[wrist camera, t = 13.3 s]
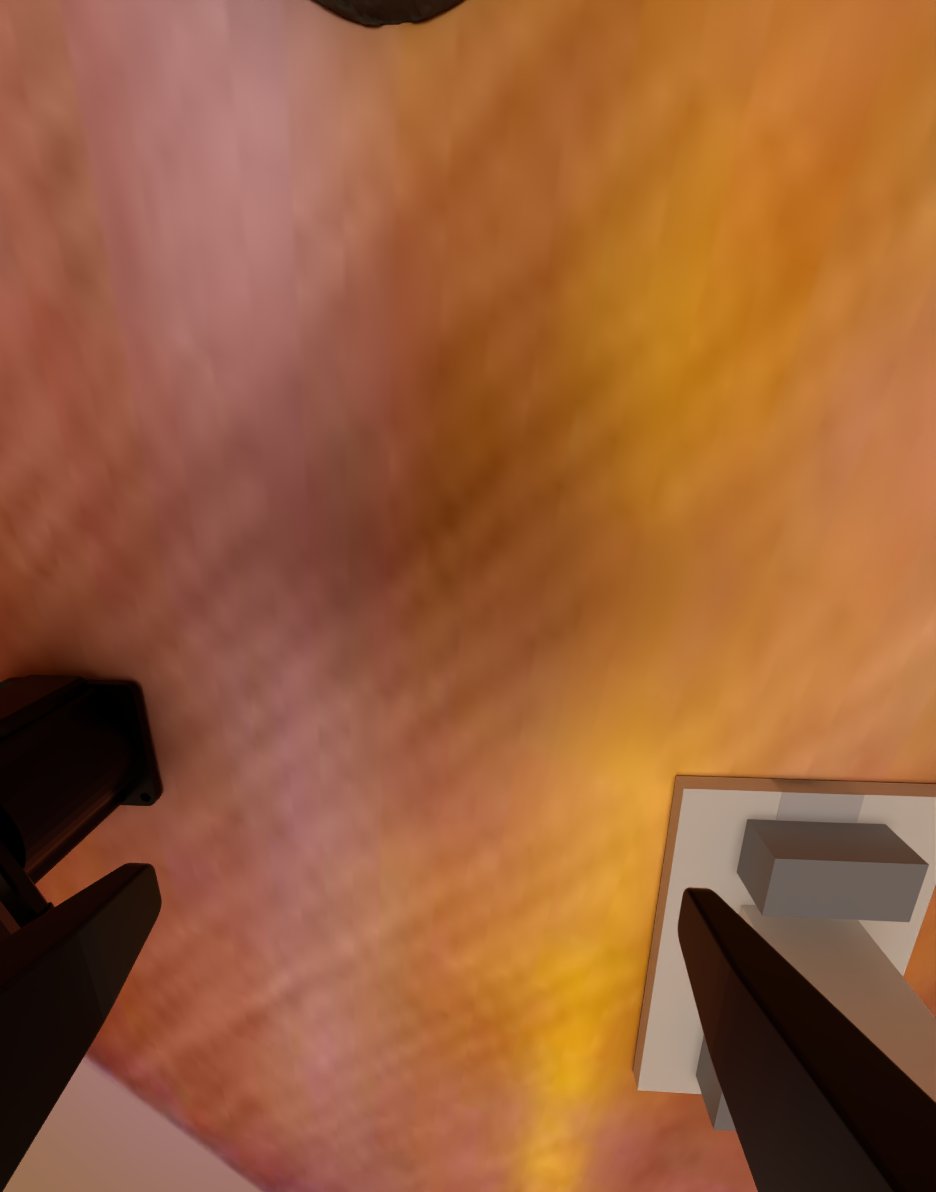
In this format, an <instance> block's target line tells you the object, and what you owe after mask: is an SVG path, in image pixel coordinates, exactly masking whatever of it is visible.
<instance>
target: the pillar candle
mask: <svg viewBox="0 0 936 1192" xmlns="http://www.w3.org/2000/svg"><path fill="white" fill-rule="evenodd" d="M317 1H318V2H320V3H321V4H322V5H323V6H327V7H329V8H330V10H331V9H332V10H333V11H334V12H336V13H338V14H340V15H341V16H343V17H346V18H348V19H352V20H354V21H356V22H361V23H362V24H364V25H379V24H399V23H401V22H407V21H420V20H422V19H426V18H428V17H431V16H433V15H435V14H437V13H439V12H441V11H444V10H446V9H448V8H449V7H451V6H453V5H454V4H457V3H458V2H460V1H461V0H317Z"/></svg>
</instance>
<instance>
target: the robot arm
mask: <svg viewBox="0 0 936 1192" xmlns="http://www.w3.org/2000/svg"><path fill="white" fill-rule="evenodd" d="M124 690H125V691H126V692H127V693H128V695H127V694H126V693H125V692H124ZM148 794H149V795H150V796H149V795H148ZM160 796H161V789H160V785H159V780H158V775H157V770H156V765H155V761H154V756H153V751H152V746H151V742H150V737H149V732H148V727H147V722H146V718H145V713H144V708H143V703H142V699H141V694H140V690H139V688H138V686H137V685H136V684H135V683H133V682H131V681H116V680H87V679H86V678H83V677H80V676H47V675H29V676H27V677H24V678H9V679H6V680H4V681H2V682H0V1192H3V1190H4V1188H5V1187H6V1185H7V1183H8V1182H9V1180H10V1179H11V1177H12V1175H13V1174H14V1172H15V1170H16V1169H17V1167H18V1165H19V1164H20V1162H21V1160H22V1159H23V1157H24V1155H25V1154H26V1152H27V1150H28V1149H29V1147H30V1145H31V1144H32V1142H33V1140H34V1139H35V1137H36V1135H37V1134H38V1132H39V1130H40V1129H41V1127H42V1125H43V1124H44V1122H45V1120H46V1119H47V1117H48V1115H49V1114H50V1112H51V1110H52V1109H53V1107H54V1105H55V1104H56V1102H57V1100H58V1099H59V1097H60V1095H61V1094H62V1092H63V1090H64V1089H65V1087H66V1086H67V1084H68V1082H69V1081H70V1079H71V1077H72V1075H73V1074H74V1072H75V1070H76V1069H77V1067H78V1065H79V1064H80V1062H81V1061H82V1059H83V1057H84V1056H85V1054H86V1052H87V1051H88V1049H89V1047H90V1046H91V1044H92V1042H93V1041H94V1039H95V1037H96V1035H97V1034H98V1032H99V1030H100V1029H101V1027H102V1025H103V1023H104V1022H105V1020H106V1018H107V1016H108V1014H109V1012H110V1010H111V1009H112V1007H113V1005H114V1003H115V1001H116V999H117V997H118V995H119V993H120V991H121V989H122V987H123V985H124V983H125V981H126V979H127V977H128V975H129V973H130V971H131V969H132V967H133V965H134V963H135V961H136V959H137V957H138V955H139V953H140V951H141V949H142V947H143V945H144V943H145V941H146V939H147V937H148V936H149V934H150V932H151V930H152V928H153V926H154V924H155V922H156V920H157V918H158V915H159V912H160V909H161V902H162V900H161V894H160V890H159V885H158V881H157V876H156V872H155V869H154V867H153V866H152V865H151V864H148V863H127V864H124V865H123V866H121V867H119V868H117V869H116V870H114V871H113V872H111V873H109V874H108V875H106V876H104V877H103V878H101V879H100V880H98V881H96V882H95V883H93V884H92V885H90V886H88V887H87V888H85V889H83V890H82V891H80V892H79V893H77V894H75V895H74V896H72V897H71V898H69V899H67V900H66V901H64V902H63V903H61V904H59V905H58V906H56V907H54V905H53V904H52V902H49V903H47V901H46V900H45V898H44V897H43V895H42V894H41V893H40V891H39V890H38V888H37V887H36V886H35V884H36V883H37V882H38V881H39V880H40V879H41V878H42V877H43V876H44V875H46V874H47V873H48V872H49V871H50V870H51V869H52V868H53V867H54V866H55V865H56V864H57V863H58V862H59V861H61V860H62V859H63V858H64V857H65V856H66V855H67V854H68V853H69V852H70V851H71V850H72V849H73V848H74V847H76V846H77V845H78V844H79V843H80V842H81V841H82V840H83V839H84V838H85V837H86V836H87V835H88V834H89V833H90V832H92V831H93V830H94V829H95V828H96V827H97V826H98V825H99V824H100V823H101V822H102V821H103V820H104V819H105V818H107V817H108V816H109V815H110V814H111V813H112V812H113V811H114V810H115V809H116V808H117V807H118V806H119V805H136V806H151V805H153V804H154V803H155V802H156V801H157V800H158V799H159V798H160ZM678 938H679V943H680V947H681V950H682V954H683V958H684V962H685V965H686V969H687V973H688V977H689V980H690V984H691V988H692V992H693V995H694V999H695V1003H696V1007H697V1010H698V1014H699V1018H700V1022H701V1025H702V1029H703V1033H704V1037H705V1040H706V1044H707V1047H708V1051H709V1054H710V1058H711V1061H712V1064H713V1067H714V1070H715V1073H716V1076H717V1079H718V1082H719V1084H720V1087H721V1090H722V1093H723V1095H724V1098H725V1101H726V1104H727V1107H728V1109H729V1112H730V1115H731V1118H732V1121H733V1123H734V1126H735V1129H736V1132H737V1134H738V1137H739V1140H740V1143H741V1146H742V1148H743V1151H744V1154H745V1157H746V1160H747V1162H748V1165H749V1168H750V1171H751V1174H752V1176H753V1179H754V1182H755V1185H756V1187H757V1190H758V1192H936V1102H935V1101H934V1100H933V1099H932V1098H931V1097H930V1096H929V1095H928V1094H927V1093H925V1092H924V1091H923V1090H922V1089H921V1088H920V1087H919V1086H918V1085H917V1084H916V1083H915V1082H914V1081H913V1080H912V1079H911V1078H910V1077H909V1076H908V1075H907V1074H906V1073H904V1072H903V1071H902V1070H901V1069H900V1068H899V1067H898V1066H897V1065H896V1064H895V1063H894V1062H893V1061H892V1060H891V1059H890V1058H889V1057H888V1056H887V1055H886V1054H885V1053H883V1052H882V1051H881V1050H880V1049H879V1048H878V1047H877V1046H876V1045H875V1044H874V1043H873V1042H872V1041H871V1040H870V1039H869V1038H868V1037H867V1036H866V1035H865V1034H864V1033H863V1032H861V1031H860V1030H859V1029H858V1028H857V1027H856V1026H855V1025H854V1024H853V1023H852V1022H851V1021H850V1020H849V1019H848V1018H847V1017H846V1016H845V1015H844V1014H843V1013H842V1012H840V1011H839V1010H838V1009H837V1008H836V1007H835V1006H834V1005H833V1004H832V1003H831V1002H830V1001H829V1000H828V999H827V998H826V997H825V996H824V995H823V994H822V993H821V992H819V991H818V990H817V989H816V988H815V987H814V986H813V985H812V984H811V983H810V982H809V981H808V980H807V979H806V978H805V977H804V976H803V975H802V974H801V973H800V972H799V971H797V970H796V969H795V968H794V967H793V966H792V965H791V964H790V963H789V962H788V961H787V960H786V959H785V958H784V957H783V956H782V955H781V954H780V953H779V952H778V951H776V950H775V949H774V948H773V947H772V946H771V945H770V944H769V943H768V942H767V941H766V940H765V939H764V938H763V937H762V936H761V935H760V934H759V933H758V932H757V931H755V930H754V929H753V928H752V927H751V926H750V925H749V924H748V923H747V922H746V921H745V920H744V919H743V918H742V917H741V916H740V915H739V914H738V913H737V912H736V911H734V910H733V909H732V908H731V907H730V906H729V905H728V904H727V903H726V902H725V901H724V900H723V899H722V898H721V897H720V896H719V895H718V894H717V893H715V892H714V891H713V890H711V889H708V888H692V887H689V888H686V889H685V890H684V892H683V895H682V901H681V907H680V913H679V919H678Z"/></svg>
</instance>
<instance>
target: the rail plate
mask: <svg viewBox="0 0 936 1192" xmlns="http://www.w3.org/2000/svg"><path fill="white" fill-rule="evenodd" d="M935 885H936V784H916V783H885V782H855V781H824V780H793V779H762V778H732V777H701V776H676V781H675V788H674V794H673V801H672V808H671V815H670V822H669V828H668V835H667V842H666V849H665V856H664V862H663V869H662V876H661V883H660V890H659V896H658V903H657V910H656V917H655V924H654V930H653V937H652V944H651V951H650V958H649V964H648V971H647V978H646V985H645V992H644V998H643V1005H642V1012H641V1019H640V1026H639V1033H638V1039H637V1046H636V1053H635V1060H634V1067H633V1073H634V1077H635V1082H636V1086H637V1090H643V1091H659V1092H675V1093H692V1094H702V1096H703V1099H704V1102H705V1105H706V1108H707V1111H708V1114H709V1117H710V1120H711V1123H712V1126H713V1129H714V1130H730V1131H736V1129H735V1126H734V1123H733V1121H732V1118H731V1115H730V1112H729V1109H728V1107H727V1104H726V1101H725V1098H724V1095H723V1093H722V1090H721V1087H720V1084H719V1082H718V1079H717V1076H716V1073H715V1070H714V1067H713V1064H712V1061H711V1058H710V1054H709V1051H708V1047H707V1044H706V1040H705V1037H704V1033H703V1029H702V1025H701V1022H700V1018H699V1014H698V1010H697V1007H696V1003H695V999H694V995H693V992H692V988H691V984H690V980H689V977H688V973H687V969H686V965H685V962H684V958H683V954H682V950H681V947H680V943H679V938H678V919H679V913H680V907H681V901H682V895H683V892H684V890H685V889H686V888H689V887H692V888H708V889H711V890H713V891H714V892H715V893H717V894H718V895H719V896H720V897H721V898H722V899H723V900H724V901H725V902H726V903H727V904H728V905H729V906H730V907H731V908H732V909H733V910H734V911H736V912H737V913H738V914H740V909H741V905H756V906H757V908H758V909H759V911H760V913H761V914H762V916H781V917H803V918H825V919H847V920H858V921H859V922H860V923H861V925H862V926H863V927H864V928H865V930H866V931H867V932H868V933H869V935H870V936H871V937H872V938H873V940H874V941H875V942H876V943H877V945H878V946H879V947H880V948H881V950H882V951H883V952H884V954H885V955H886V956H887V957H888V959H889V960H890V961H891V962H892V964H893V965H894V966H895V967H896V969H897V970H898V971H899V972H900V974H901V975H902V976H904V973H905V970H906V967H907V964H908V961H909V959H910V956H911V953H912V950H913V947H914V944H915V942H916V939H917V936H918V933H919V930H920V927H921V924H922V922H923V919H924V916H925V913H926V910H927V907H928V904H929V902H930V899H931V896H932V893H933V890H934V887H935Z"/></svg>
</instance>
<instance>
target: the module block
mask: <svg viewBox="0 0 936 1192" xmlns="http://www.w3.org/2000/svg"><path fill="white" fill-rule="evenodd" d="M739 915H740V916H741V917H742V918H743V919H744V920H745V921H746V922H747V923H748V924H749V925H750V926H751V927H752V928H753V929H754V930H755V931H757V932H758V933H759V934H760V935H761V936H762V937H763V938H764V939H765V940H766V941H767V942H768V943H769V944H770V945H771V946H772V947H773V948H774V949H775V950H776V951H778V952H779V953H780V954H781V955H782V956H783V957H784V958H785V959H786V960H787V961H788V962H789V963H790V964H791V965H792V966H793V967H794V968H795V969H796V970H797V971H799V972H800V973H801V974H802V975H803V976H804V977H805V978H806V979H807V980H808V981H809V982H810V983H811V984H812V985H813V986H814V987H815V988H816V989H817V990H818V991H819V992H821V993H822V994H823V995H824V996H825V997H826V998H827V999H828V1000H829V1001H830V1002H831V1003H832V1004H833V1005H834V1006H835V1007H836V1008H837V1009H838V1010H839V1011H840V1012H842V1013H843V1014H844V1015H845V1016H846V1017H847V1018H848V1019H849V1020H850V1021H851V1022H852V1023H853V1024H854V1025H855V1026H856V1027H857V1028H858V1029H859V1030H860V1031H861V1032H863V1033H864V1034H865V1035H866V1036H867V1037H868V1038H869V1039H870V1040H871V1041H872V1042H873V1043H874V1044H875V1045H876V1046H877V1047H878V1048H879V1049H880V1050H881V1051H882V1052H883V1053H885V1054H886V1055H887V1056H888V1057H889V1058H890V1059H891V1060H892V1061H893V1062H894V1063H895V1064H896V1065H897V1066H898V1067H899V1068H900V1069H901V1070H902V1071H903V1072H904V1073H906V1074H907V1075H908V1076H909V1077H910V1078H911V1079H912V1080H913V1081H914V1082H915V1083H916V1084H917V1085H918V1086H919V1087H920V1088H921V1089H922V1090H923V1091H924V1092H925V1093H927V1094H928V1095H929V1096H930V1097H931V1098H932V1099H933V1100H934V1101H935V1102H936V1018H935V1017H934V1015H933V1014H932V1013H931V1012H930V1010H929V1009H928V1008H927V1006H926V1005H925V1004H924V1003H923V1001H922V1000H921V999H920V998H919V996H918V995H917V994H916V993H915V991H914V990H913V989H912V988H911V986H910V985H909V984H908V983H907V981H906V980H905V979H904V977H903V976H902V975H901V974H900V972H899V971H898V970H897V969H896V967H895V966H894V965H893V964H892V962H891V961H890V960H889V959H888V957H887V956H886V955H885V954H884V952H883V951H882V950H881V948H880V947H879V946H878V945H877V943H876V942H875V941H874V940H873V938H872V937H871V936H870V935H869V933H868V932H867V931H866V930H865V928H864V927H863V926H862V925H861V923H860V922H859V921H858V920H847V919H825V918H803V917H781V916H762V914H761V913H760V911H759V909H758V908H757V906H756V905H741V909H740V914H739Z"/></svg>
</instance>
